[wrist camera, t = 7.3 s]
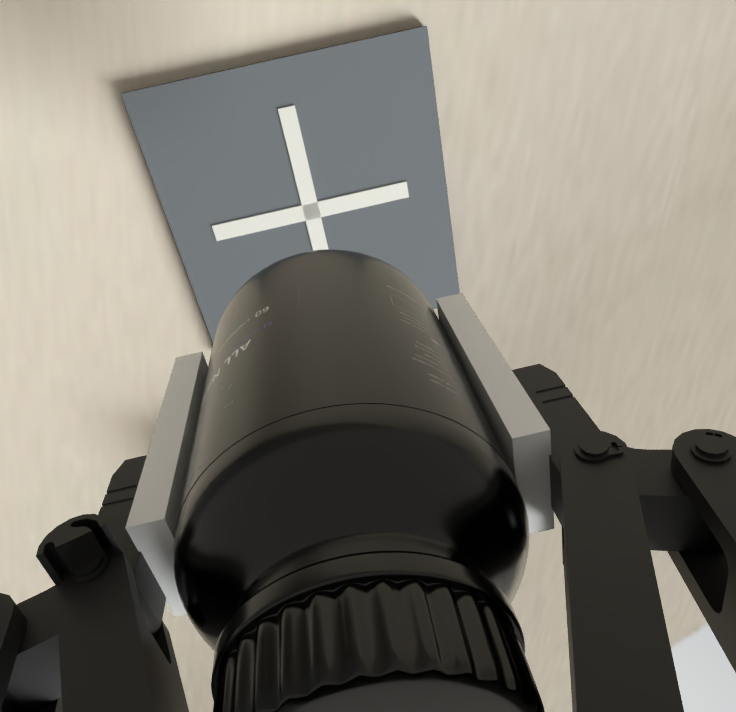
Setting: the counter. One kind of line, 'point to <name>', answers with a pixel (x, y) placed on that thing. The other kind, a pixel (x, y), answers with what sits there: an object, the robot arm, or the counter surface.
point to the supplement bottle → (349, 505)
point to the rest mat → (302, 164)
